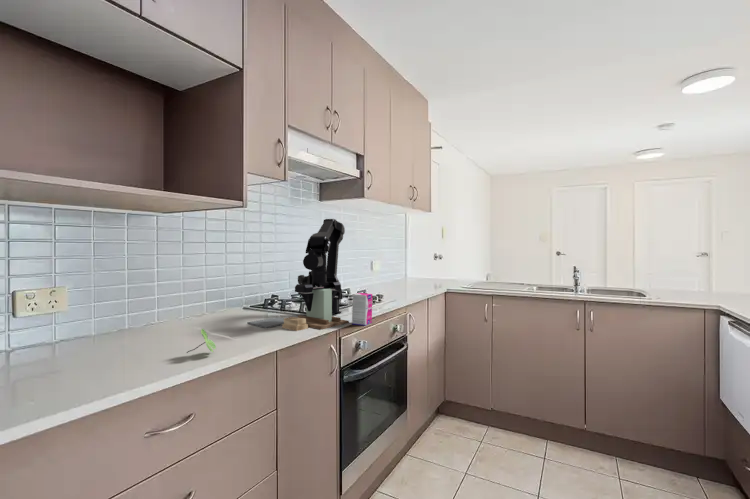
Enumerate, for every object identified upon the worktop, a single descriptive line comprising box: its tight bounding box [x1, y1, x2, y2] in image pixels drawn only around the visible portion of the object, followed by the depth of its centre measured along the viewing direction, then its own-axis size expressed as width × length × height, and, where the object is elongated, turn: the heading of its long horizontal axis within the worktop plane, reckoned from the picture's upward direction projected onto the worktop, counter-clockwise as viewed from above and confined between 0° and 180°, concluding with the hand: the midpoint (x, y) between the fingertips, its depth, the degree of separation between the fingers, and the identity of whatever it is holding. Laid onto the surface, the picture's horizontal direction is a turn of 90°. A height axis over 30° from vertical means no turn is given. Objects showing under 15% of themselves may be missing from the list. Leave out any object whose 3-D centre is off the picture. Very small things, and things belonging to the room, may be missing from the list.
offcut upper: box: [283, 316, 306, 326], centre depth 137 cm, size 4×7×2 cm, turn 56°
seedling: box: [185, 328, 217, 354], centre depth 105 cm, size 7×8×7 cm
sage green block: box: [305, 289, 333, 322], centre depth 146 cm, size 4×10×12 cm, turn 50°
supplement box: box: [351, 292, 373, 327], centre depth 144 cm, size 6×6×12 cm
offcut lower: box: [281, 324, 309, 332], centre depth 137 cm, size 5×8×2 cm, turn 51°
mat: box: [247, 316, 285, 329], centre depth 146 cm, size 14×12×1 cm
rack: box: [297, 314, 350, 330], centre depth 146 cm, size 14×18×2 cm
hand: (318, 309), depth 146 cm, fingers open, 9 cm apart
